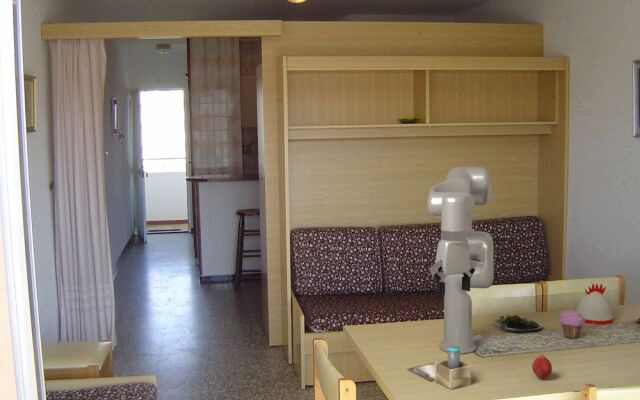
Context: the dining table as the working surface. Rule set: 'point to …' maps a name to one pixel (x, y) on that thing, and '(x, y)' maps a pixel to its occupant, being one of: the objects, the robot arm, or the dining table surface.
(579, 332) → the cupcake
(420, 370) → the clipboard
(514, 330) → the salad plate
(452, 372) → the wooden box
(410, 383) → the dining table surface
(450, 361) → the cylinder
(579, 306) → the white and red dome
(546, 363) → the onion
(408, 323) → the dining table surface
